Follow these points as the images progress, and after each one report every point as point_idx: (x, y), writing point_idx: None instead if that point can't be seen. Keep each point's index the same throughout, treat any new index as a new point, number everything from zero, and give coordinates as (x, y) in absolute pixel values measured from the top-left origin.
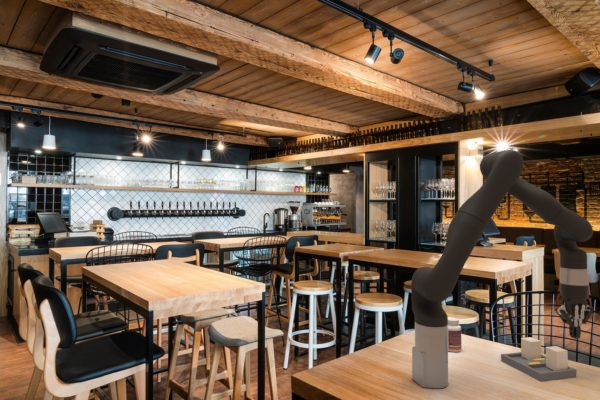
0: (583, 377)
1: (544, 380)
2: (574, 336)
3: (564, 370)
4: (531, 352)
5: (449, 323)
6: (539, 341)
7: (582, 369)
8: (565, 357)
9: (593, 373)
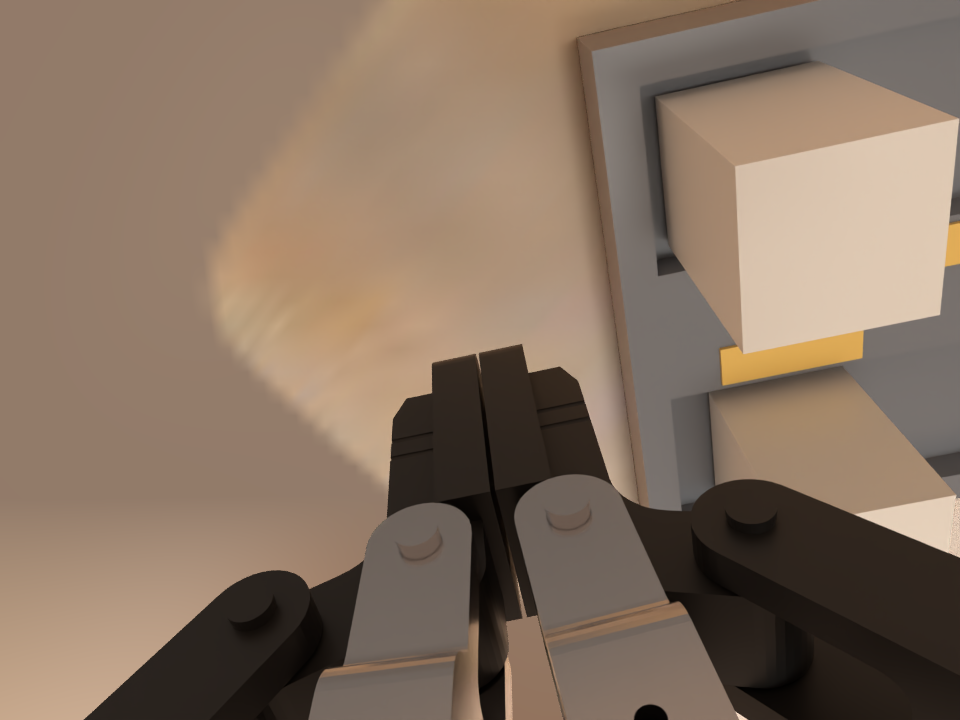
0: (501, 23)
1: None
2: (548, 370)
3: (766, 26)
4: (875, 416)
5: None
6: None
7: (355, 241)
8: (743, 128)
9: (302, 134)
